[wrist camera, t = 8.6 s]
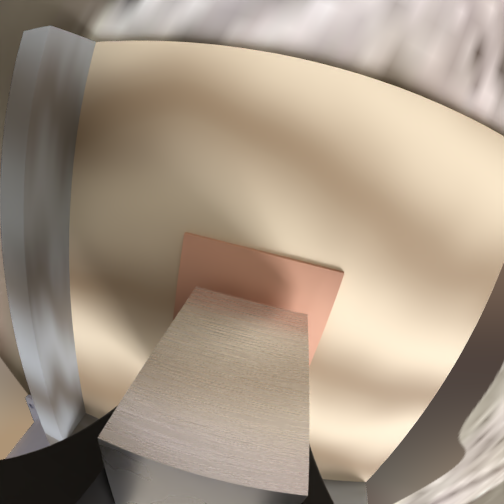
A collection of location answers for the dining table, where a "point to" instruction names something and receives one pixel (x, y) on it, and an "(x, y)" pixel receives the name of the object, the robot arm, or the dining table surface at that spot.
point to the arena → (243, 226)
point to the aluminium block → (216, 410)
